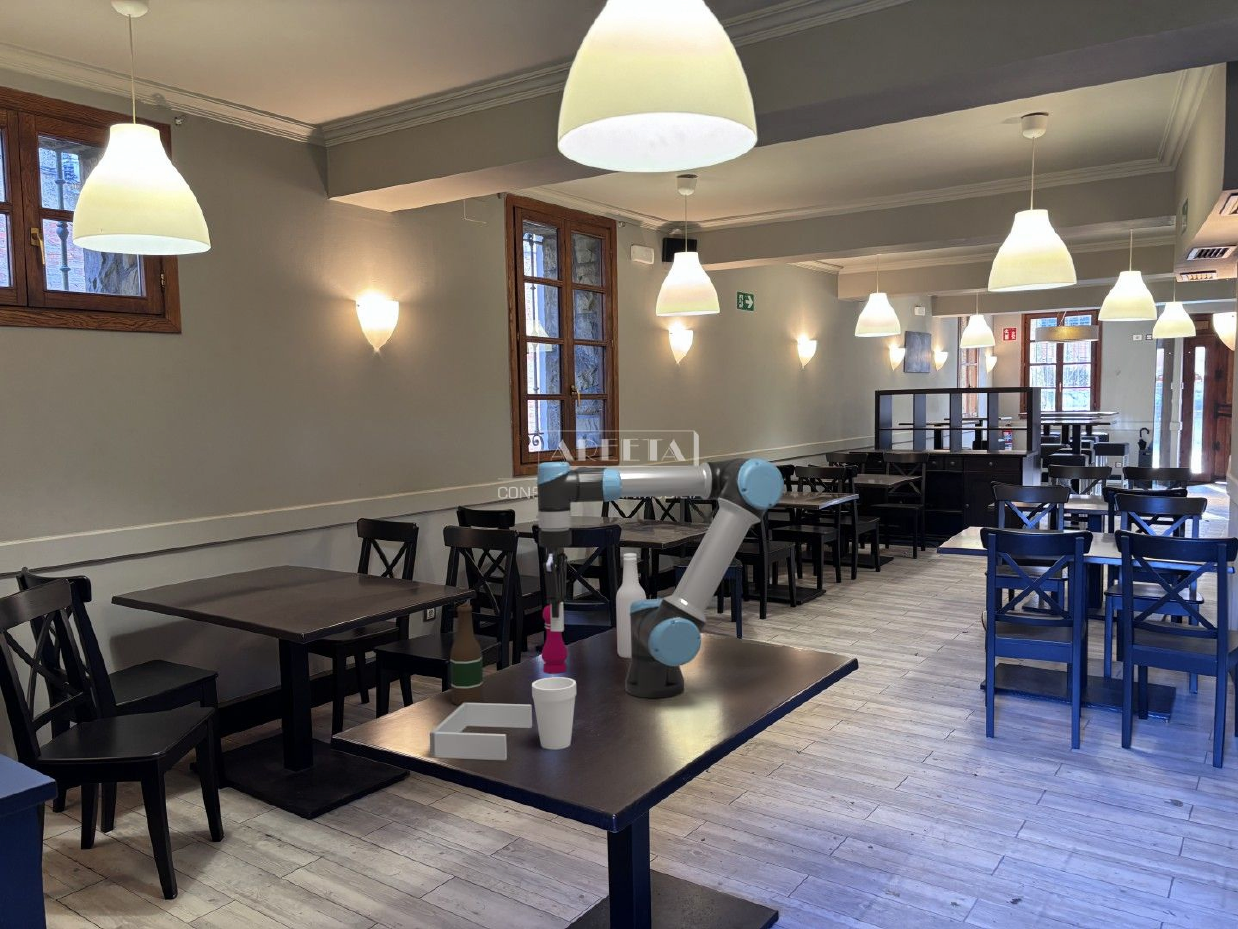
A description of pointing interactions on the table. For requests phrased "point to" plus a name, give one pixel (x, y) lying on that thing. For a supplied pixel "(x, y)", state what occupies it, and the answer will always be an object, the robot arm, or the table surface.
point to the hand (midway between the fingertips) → (557, 630)
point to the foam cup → (554, 710)
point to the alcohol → (627, 603)
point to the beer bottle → (466, 662)
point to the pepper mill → (553, 647)
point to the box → (478, 745)
